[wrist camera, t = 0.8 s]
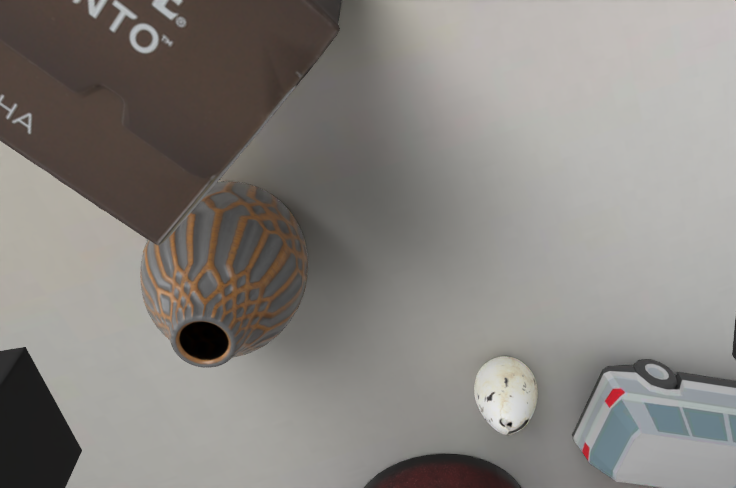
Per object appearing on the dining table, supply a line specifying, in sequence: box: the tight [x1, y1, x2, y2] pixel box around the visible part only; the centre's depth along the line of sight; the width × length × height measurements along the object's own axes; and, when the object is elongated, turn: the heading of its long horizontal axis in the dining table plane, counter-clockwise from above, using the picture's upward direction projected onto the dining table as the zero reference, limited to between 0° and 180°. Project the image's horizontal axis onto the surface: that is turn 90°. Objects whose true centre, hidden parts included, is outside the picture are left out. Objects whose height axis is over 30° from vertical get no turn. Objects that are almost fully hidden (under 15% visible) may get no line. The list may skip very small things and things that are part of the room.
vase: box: [141, 182, 308, 367], centre depth 29 cm, size 7×7×9 cm
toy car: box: [572, 359, 736, 488], centre depth 37 cm, size 6×13×5 cm, turn 79°
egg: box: [474, 356, 538, 435], centre depth 35 cm, size 3×3×5 cm
